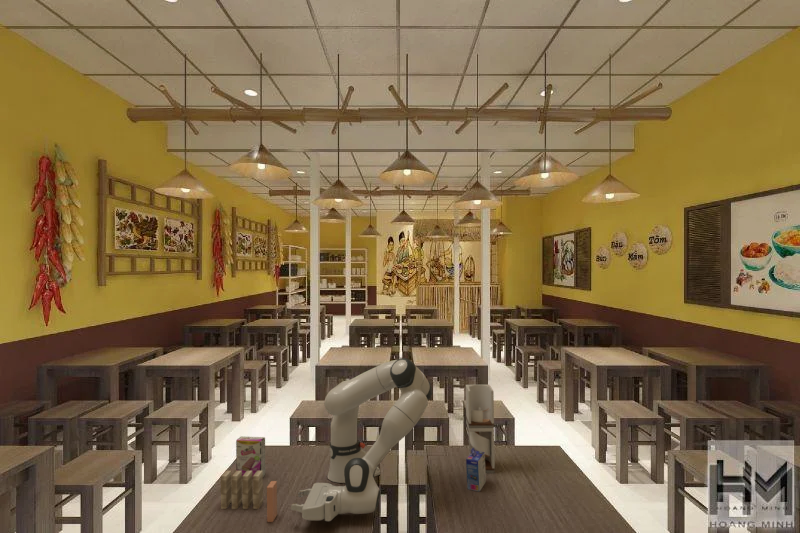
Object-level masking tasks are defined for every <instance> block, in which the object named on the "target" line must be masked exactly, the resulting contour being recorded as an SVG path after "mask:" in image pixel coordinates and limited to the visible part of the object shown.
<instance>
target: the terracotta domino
mask: <svg viewBox="0 0 800 533" xmlns="http://www.w3.org/2000/svg"><path fill="white" fill-rule="evenodd" d="M277 516H278V482H277V480H271V481H270V482H269V483H268V485H267V486H266V517H267V518H266V521H267V523H274V521H275V519H276V517H277Z"/></svg>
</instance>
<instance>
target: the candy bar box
mask: <svg viewBox="0 0 800 533" xmlns="http://www.w3.org/2000/svg"><path fill="white" fill-rule="evenodd" d="M235 444H236V445H235V448H236V449H235V451H236V452H235V453H236V455H235V456H236V457H235V459H236V461H235V463H236V464H235V466H236V470H235V472H236V471H242V476H243V475H244V474H245V472H246V471H252V480H253V475H254V474H255V473H256V472H257V471H263V477H265V476H266V437H265V436H264V437H263V436H241V435H240V436H239V438H237V439H236V442H235Z"/></svg>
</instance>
